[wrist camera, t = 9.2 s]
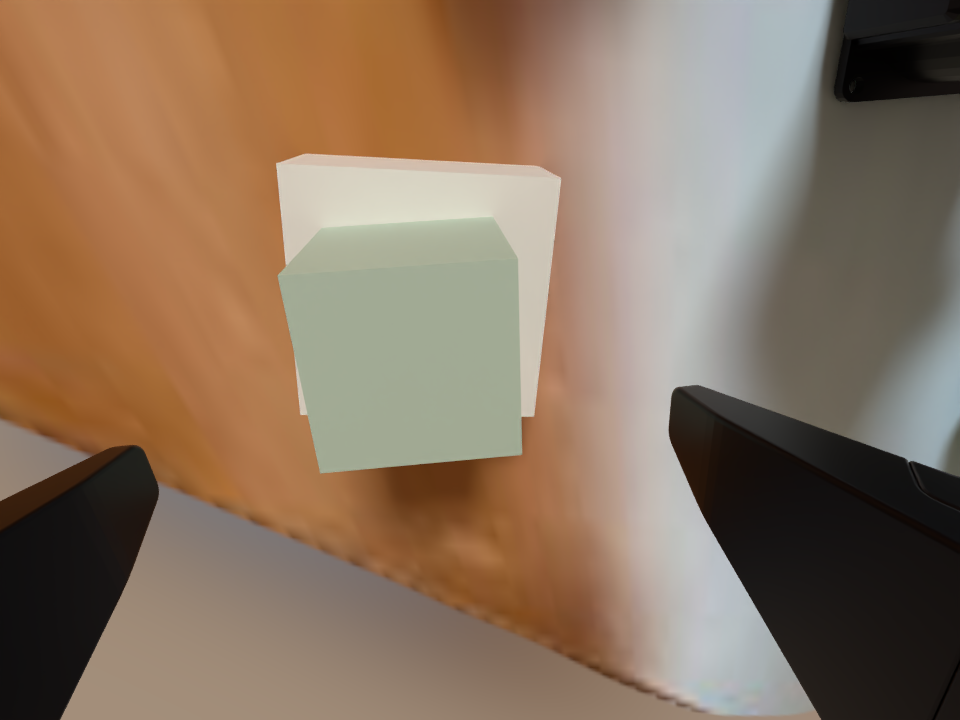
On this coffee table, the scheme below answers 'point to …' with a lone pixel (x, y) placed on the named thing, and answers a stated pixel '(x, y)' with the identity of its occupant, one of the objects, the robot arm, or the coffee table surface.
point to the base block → (433, 196)
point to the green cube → (407, 342)
